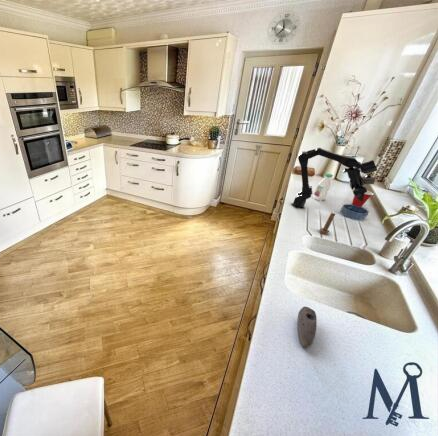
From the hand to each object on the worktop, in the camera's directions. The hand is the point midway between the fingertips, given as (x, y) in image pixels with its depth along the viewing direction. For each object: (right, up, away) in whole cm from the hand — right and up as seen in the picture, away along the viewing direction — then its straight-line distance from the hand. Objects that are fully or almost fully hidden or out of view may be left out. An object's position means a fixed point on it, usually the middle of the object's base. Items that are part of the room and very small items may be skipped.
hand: (360, 198), depth 149 cm
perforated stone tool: (-83, -53, -68) cm, 120 cm away
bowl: (+5, -10, +12) cm, 16 cm away
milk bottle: (-2, +3, +34) cm, 34 cm away
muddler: (-31, -21, -10) cm, 39 cm away
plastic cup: (+21, -3, +26) cm, 33 cm away
